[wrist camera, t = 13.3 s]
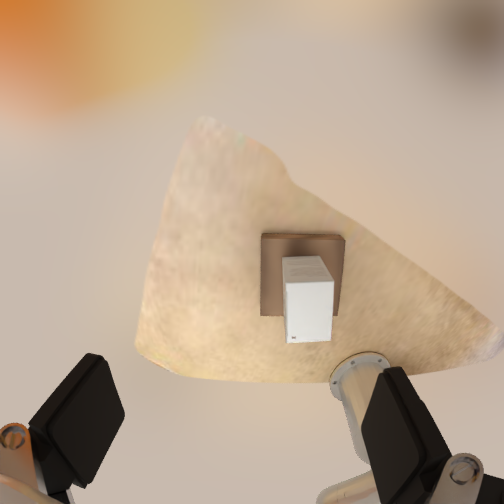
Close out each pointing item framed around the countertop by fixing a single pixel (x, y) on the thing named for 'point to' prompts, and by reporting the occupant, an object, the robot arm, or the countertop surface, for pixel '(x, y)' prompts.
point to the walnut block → (296, 246)
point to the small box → (307, 299)
